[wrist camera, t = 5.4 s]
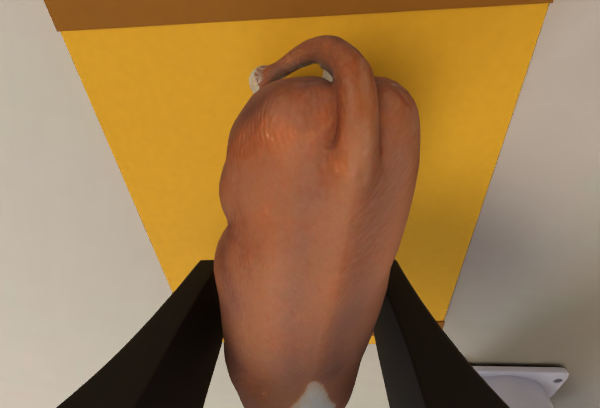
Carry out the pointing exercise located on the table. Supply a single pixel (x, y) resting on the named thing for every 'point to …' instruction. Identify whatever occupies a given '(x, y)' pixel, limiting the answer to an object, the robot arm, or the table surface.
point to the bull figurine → (311, 223)
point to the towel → (273, 46)
